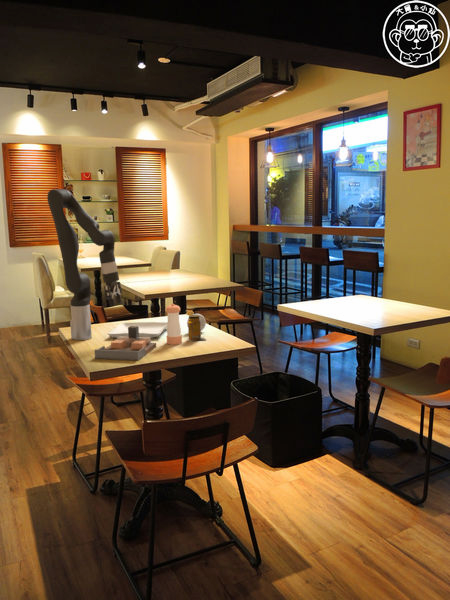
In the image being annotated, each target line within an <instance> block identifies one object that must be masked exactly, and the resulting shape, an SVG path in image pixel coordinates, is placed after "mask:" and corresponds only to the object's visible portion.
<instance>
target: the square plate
mask: <svg viewBox="0 0 450 600" xmlns="http://www.w3.org/2000/svg"><path fill="white" fill-rule="evenodd" d="M167 324H168V321H167V322H166V321H165V322H164V321H163V322H161V321H159V322H156V321H149V322H148V321H144V322H143V321H142V322H141V321H140V322H139V321H138V322H122V323H120V324H119V325H117V326H115V327H114V328H113V329H112V330H110V331H109V332H108V333H107V335H108V337H111V338H114V339H117V337H118V336H124V337H128V327H130V326H138V327H139V337H151V339H152V338H158V337H159V336H160V335H161V334H162V333H163V332H164V331H165V330H167Z"/></svg>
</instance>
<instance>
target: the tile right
mask: <svg viewBox="0 0 450 600" xmlns="http://www.w3.org/2000/svg"><path fill="white" fill-rule="evenodd" d="M143 347H146V341H134V342H133V343H132V349H142V348H143Z"/></svg>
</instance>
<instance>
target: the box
mask: <svg viewBox="0 0 450 600" xmlns="http://www.w3.org/2000/svg"><path fill="white" fill-rule="evenodd" d="M105 348H106V346H105V345H103V346H101V347H99V348H97V349H94V359H95V360H112V361H113V360H114V361H116V360H117V361H135V362H137V361H139V360H141V359H143V358H144V357H145V356H146V355H145V348H144V347H143V348H142V349H141V350H139V351H122V350H105Z"/></svg>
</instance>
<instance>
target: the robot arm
mask: <svg viewBox="0 0 450 600" xmlns="http://www.w3.org/2000/svg"><path fill="white" fill-rule="evenodd" d="M46 198H47V204H48V207H49V209H50V213H51V216H52V220H53V222H54V227H55V231H56V236H57V241H58V246H59V249H60V253H61V254H60V255H61V259H62V263H63V264H62V265H63V269H64V271H63V272H64V279H65V285H66V289H68V291H69V292H70V293H73V297H72V298H71V299H70V311H71V312H70V314H71V315H70V316H71V320H70V321H69V322H70V323H69V325H70V336H71V337H70V338H71V340H75V341H83V340H84V341H85V340H86V341H87V340H89V339H91V338H93V336H92V321H91V306H90V303H91V302H90V300H91V297H92V296H91V295H92V293H91V289H92V288H91V287H92V286H91V280H90V277H89V276H88V274H87V273H85V272H79V267H78V257H79V250H80V244H79V239H78V234H77V232H76V230H75V229H74V227H73V226H72V224H71V223H70V222H69V220H68V219H67V217H66V215H65V210H64V209H67V210H69V211H70V212H71V213H72V214H73V215H74V218H75V220H76V223H77V224H78V226H79V227H80V228H81V229H82V230H83V231H85V232H86V233H87V235H88V237H89V238H90V239H91V242H92V243H93V244H95V245H96V246H98V247H102V246H103V248H102V250H101V251H100V252H99V253H98V255H99V256H98V257H99V263H100V270H101V274H102V280H103V283H104V284H105V283H106V285H103V289H104V295H105V299H107V300H108V303H109V307H115V300H116V303H117V304H121V303H122V298H121V295H122V294H123V291H122V285H121V282H120V275H119V271H118V266H117V261H116V257H115V242H116V241H115V234H114V233H113V232H112V231H111V230H109V229H105V230H100V223H99V222H97V220H95V219H94V218H93V217H92V216H91V215H90V214H89V213H88V212H87V211H86V210H85V209H84V208H83V206H82V205H81V204H80V203H79V201H78V200H77V198H75V197H74V195H73V194H72V192H70V190H68V189H64V188H55V189H50V190H49V191H48V193H47V196H46ZM114 295H115V299H114Z"/></svg>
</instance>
